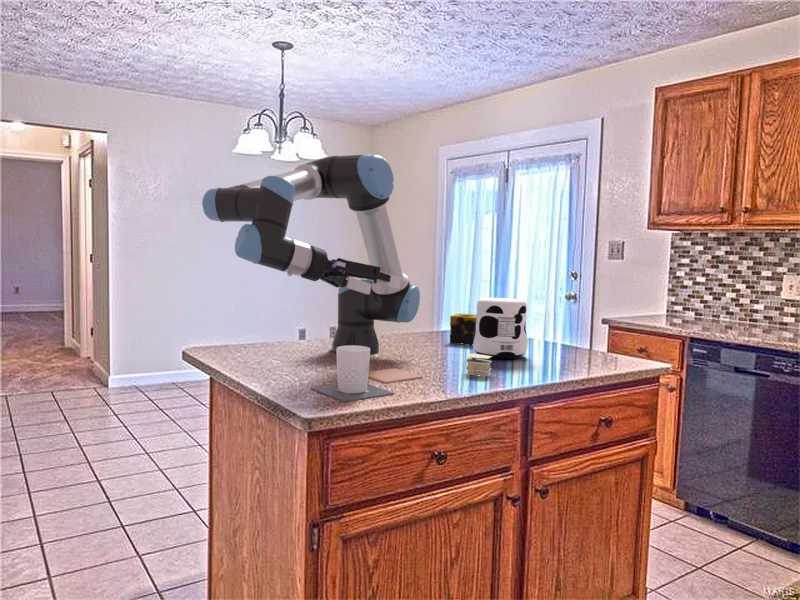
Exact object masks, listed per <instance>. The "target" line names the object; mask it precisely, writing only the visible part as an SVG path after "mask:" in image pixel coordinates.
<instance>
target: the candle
mask: <svg viewBox="0 0 800 600" xmlns="http://www.w3.org/2000/svg"><path fill="white" fill-rule="evenodd" d="M449 320H450V322H449V325H450V326H449V327H450V329H449V330H450V334H449V343H450V342H451V343H450V344H455V343H463V344H462V345H465V344H473V335H474V332H475V328H476V314H475V313H456V314H452V315H450V316H449Z"/></svg>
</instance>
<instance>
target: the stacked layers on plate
mask: <svg viewBox="0 0 800 600" xmlns="http://www.w3.org/2000/svg"><path fill="white" fill-rule="evenodd" d="M466 357H467V358H466V363H467V365H466V370H467V371H466V372H467V374H468V375H480V376H487V375H489V374H490V375H491V371H492V368H491V363H492V362H493V361H492V360H490V359H491V358H492V356H487V355H481V354H477V353H467V354H466ZM488 359H489V360H488ZM467 374H466V375H467ZM468 375H467V376H468ZM490 375H489V376H490Z"/></svg>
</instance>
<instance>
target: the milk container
mask: <svg viewBox="0 0 800 600" xmlns="http://www.w3.org/2000/svg"><path fill="white" fill-rule="evenodd" d="M476 303H477V304H476V328H475V332H474V335H473V345H472V347H473V351H474V352H475V354H481V355H487V356H492V357H491V358H494V359H516V358H520V357H523V356H524V355H525V354H526V352H527V350H528V345H529V339H528V335H527V330H526V323H527V301H526V300H524V299H523V300H522V299H518V298H517V299H516V298H506V297H505V298H501V297H486V298H485V297H483V298H478V299H477V302H476Z"/></svg>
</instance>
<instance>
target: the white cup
mask: <svg viewBox="0 0 800 600" xmlns="http://www.w3.org/2000/svg"><path fill="white" fill-rule="evenodd" d="M335 353H336V378H337V384H338V390H339V391H340V392H343V393H353V394H354V393H363V392H366V390H367V384H368V380H369V378H368V373H369V372H370V362H371V361H370V359H371V354H370V348H369V347H365V346H355V345H348V346H340V347H337V348H336V352H335Z"/></svg>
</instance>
